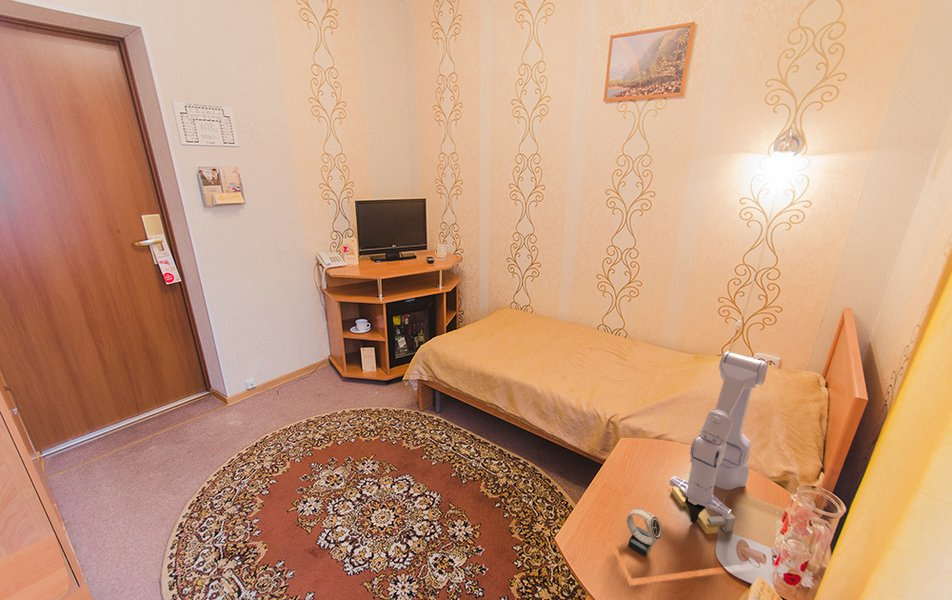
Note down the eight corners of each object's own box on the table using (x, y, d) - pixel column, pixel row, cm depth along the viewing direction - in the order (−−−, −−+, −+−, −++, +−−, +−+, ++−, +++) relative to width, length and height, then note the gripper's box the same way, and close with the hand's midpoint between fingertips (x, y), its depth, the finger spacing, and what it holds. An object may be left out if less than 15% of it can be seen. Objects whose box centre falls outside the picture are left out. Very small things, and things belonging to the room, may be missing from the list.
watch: (653, 565, 94) (658, 530, 91) (620, 545, 99) (624, 512, 96) (660, 549, 98) (666, 515, 95) (629, 531, 103) (633, 498, 100)
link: (671, 492, 114) (672, 486, 113) (688, 490, 114) (689, 485, 114) (702, 534, 101) (703, 528, 100) (721, 532, 101) (722, 526, 100)
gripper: (666, 470, 103) (660, 510, 107) (725, 506, 92) (716, 548, 96) (679, 459, 107) (673, 498, 111) (738, 491, 95) (728, 533, 100)
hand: (694, 520), depth 104 cm, fingers closed, pressing on link
